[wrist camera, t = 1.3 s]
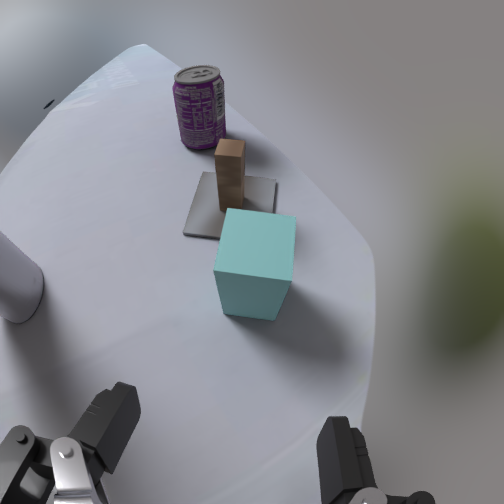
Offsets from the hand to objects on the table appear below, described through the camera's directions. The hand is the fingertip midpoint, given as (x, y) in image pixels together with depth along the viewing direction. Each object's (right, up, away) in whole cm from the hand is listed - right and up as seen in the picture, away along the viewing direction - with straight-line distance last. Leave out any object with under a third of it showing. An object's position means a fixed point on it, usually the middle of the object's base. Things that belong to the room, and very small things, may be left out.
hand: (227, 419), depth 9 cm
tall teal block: (+1, +2, +19) cm, 19 cm away
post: (-1, +12, +24) cm, 27 cm away
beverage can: (-7, +25, +31) cm, 40 cm away
